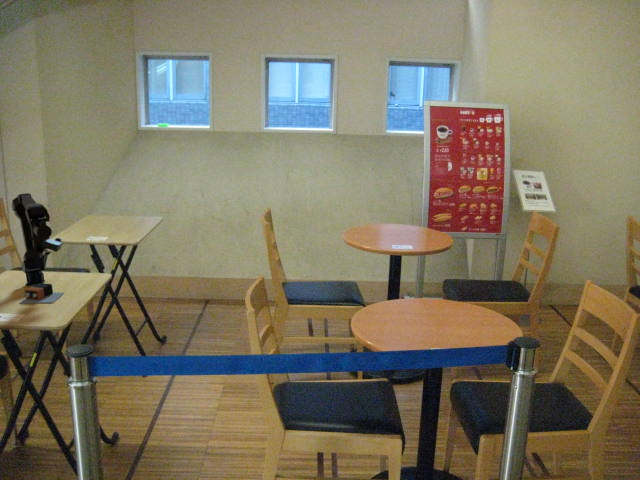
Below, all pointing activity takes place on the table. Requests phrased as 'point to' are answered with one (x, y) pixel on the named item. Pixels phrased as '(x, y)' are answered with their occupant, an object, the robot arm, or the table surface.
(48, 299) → the mat
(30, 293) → the battery
